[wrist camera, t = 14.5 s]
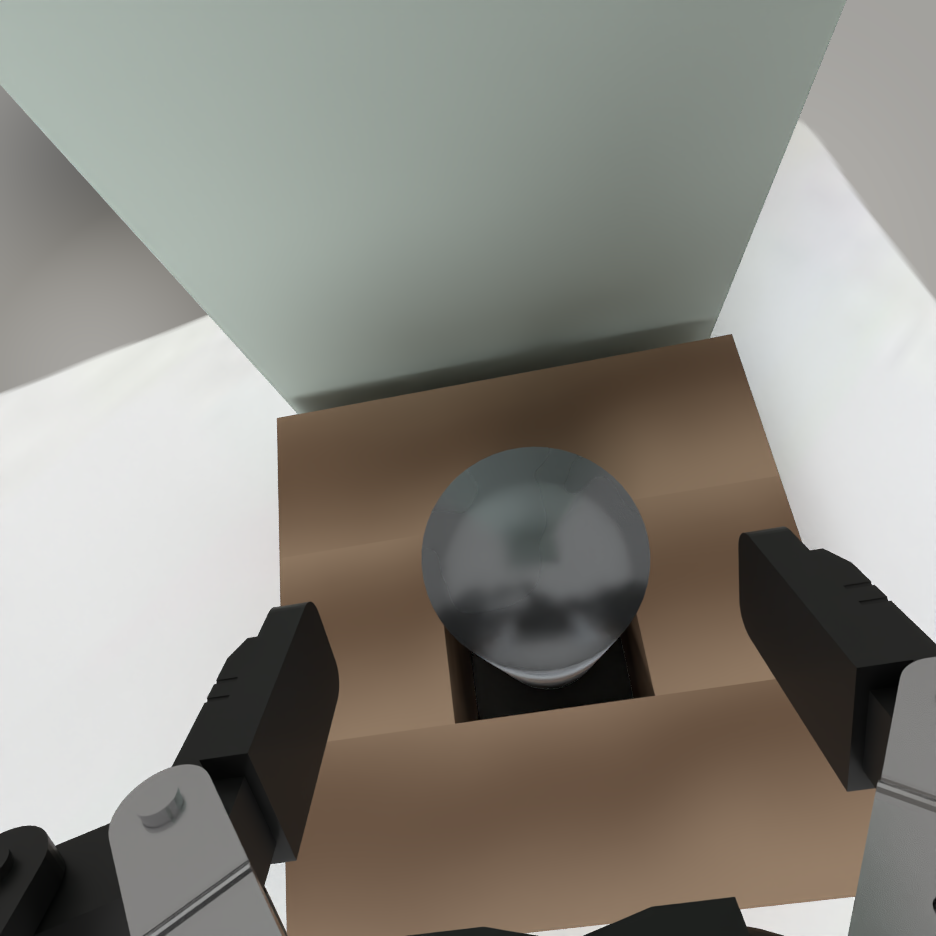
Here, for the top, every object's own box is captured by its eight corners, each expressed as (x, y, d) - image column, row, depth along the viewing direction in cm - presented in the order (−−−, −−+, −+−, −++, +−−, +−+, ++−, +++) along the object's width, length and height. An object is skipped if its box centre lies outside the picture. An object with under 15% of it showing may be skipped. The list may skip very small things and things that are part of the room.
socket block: (826, 841, 18) (918, 889, 13) (353, 897, 19) (287, 959, 14) (697, 408, 23) (731, 334, 18) (331, 473, 24) (276, 418, 20)
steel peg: (545, 714, 20) (532, 725, 9) (470, 630, 21) (377, 550, 10) (623, 634, 21) (700, 553, 10) (545, 557, 22) (533, 406, 11)
